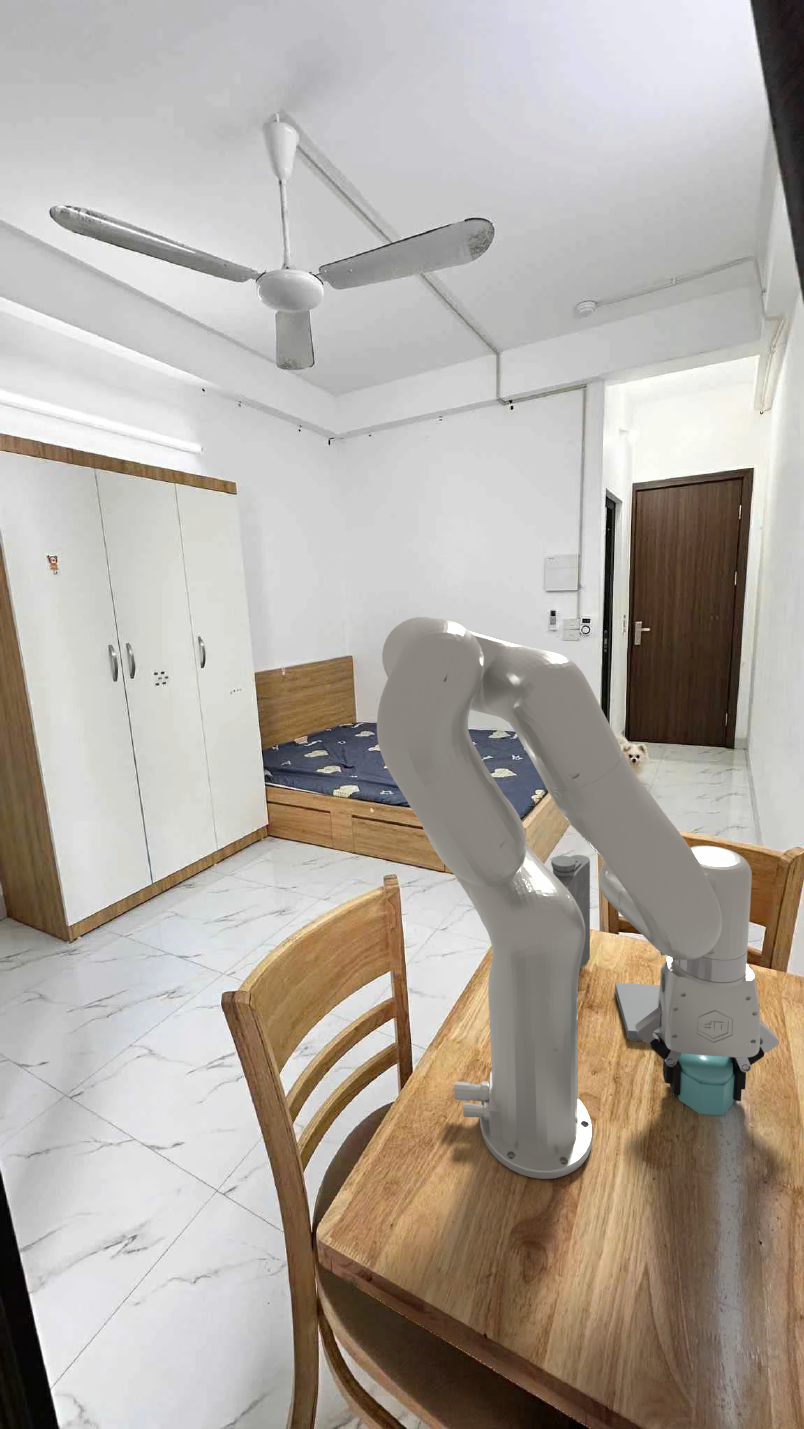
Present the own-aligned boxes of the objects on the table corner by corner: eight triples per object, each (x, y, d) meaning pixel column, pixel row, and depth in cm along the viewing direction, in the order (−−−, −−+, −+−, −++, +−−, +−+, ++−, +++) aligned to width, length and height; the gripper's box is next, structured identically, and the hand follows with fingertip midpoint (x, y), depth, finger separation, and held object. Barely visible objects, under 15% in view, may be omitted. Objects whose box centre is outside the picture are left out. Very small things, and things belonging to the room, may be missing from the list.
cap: (683, 1112, 69) (684, 1075, 68) (669, 1071, 75) (670, 1037, 74) (738, 1117, 68) (741, 1080, 67) (720, 1075, 74) (722, 1040, 73)
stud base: (628, 1040, 80) (628, 1030, 80) (615, 991, 90) (615, 982, 90) (740, 1047, 78) (740, 1038, 77) (714, 997, 87) (715, 988, 87)
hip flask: (563, 1011, 86) (562, 886, 82) (536, 1003, 89) (534, 880, 85) (592, 953, 100) (592, 842, 96) (568, 947, 102) (567, 838, 98)
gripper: (636, 971, 66) (633, 1108, 69) (808, 980, 62) (796, 1123, 66) (623, 933, 73) (621, 1059, 76) (777, 939, 70) (767, 1070, 73)
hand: (702, 1087), depth 71 cm, fingers closed on cap, 6 cm apart
